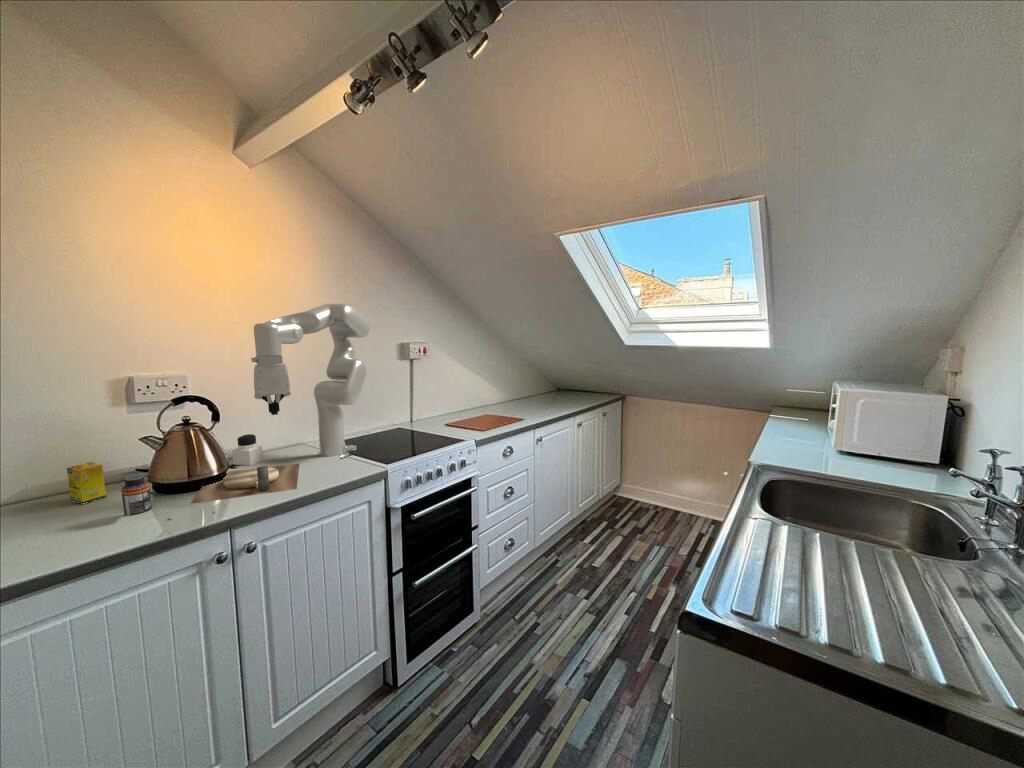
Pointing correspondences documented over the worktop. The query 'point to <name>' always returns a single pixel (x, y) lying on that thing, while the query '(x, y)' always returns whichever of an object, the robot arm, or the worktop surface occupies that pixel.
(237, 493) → the walnut board
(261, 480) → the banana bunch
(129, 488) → the supplement bottle
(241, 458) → the medicine bottle
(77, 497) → the supplement box
